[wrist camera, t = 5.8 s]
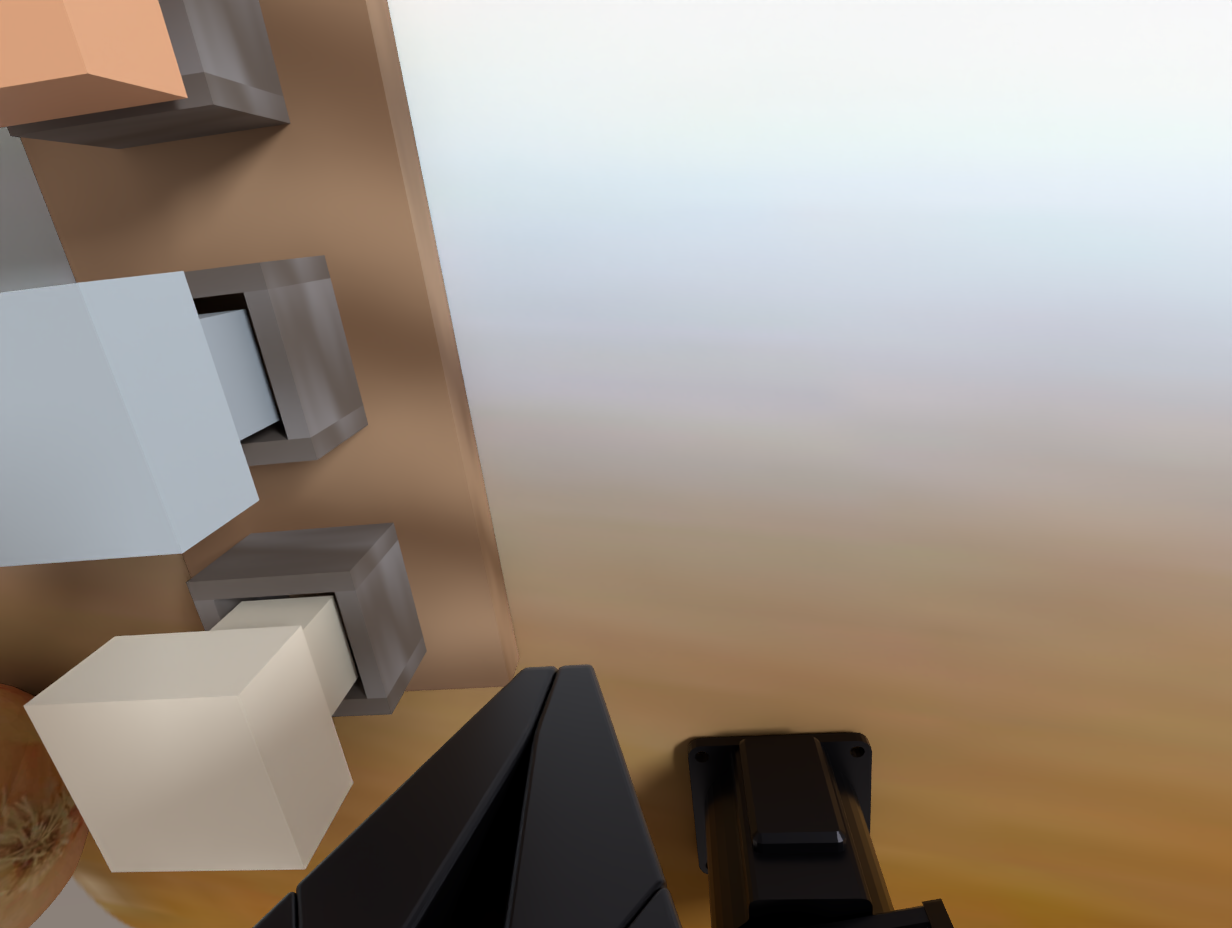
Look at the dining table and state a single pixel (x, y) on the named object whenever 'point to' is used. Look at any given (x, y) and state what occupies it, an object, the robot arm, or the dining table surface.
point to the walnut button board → (308, 325)
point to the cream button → (207, 739)
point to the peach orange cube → (83, 58)
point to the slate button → (123, 419)
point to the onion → (32, 818)
